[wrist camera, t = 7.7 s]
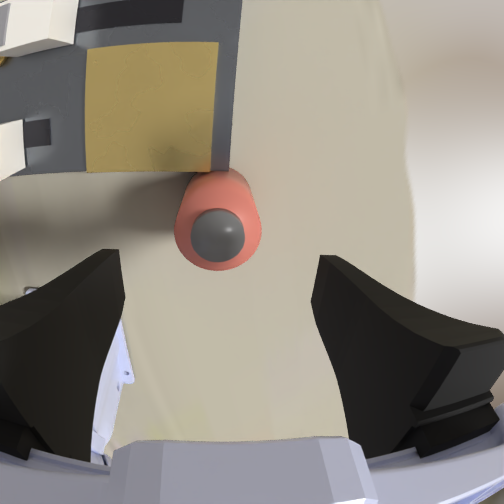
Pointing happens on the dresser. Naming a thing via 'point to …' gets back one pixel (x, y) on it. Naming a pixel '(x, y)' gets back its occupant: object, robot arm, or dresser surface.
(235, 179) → the cap
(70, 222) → the dresser surface
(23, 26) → the block
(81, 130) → the panel
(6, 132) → the block
